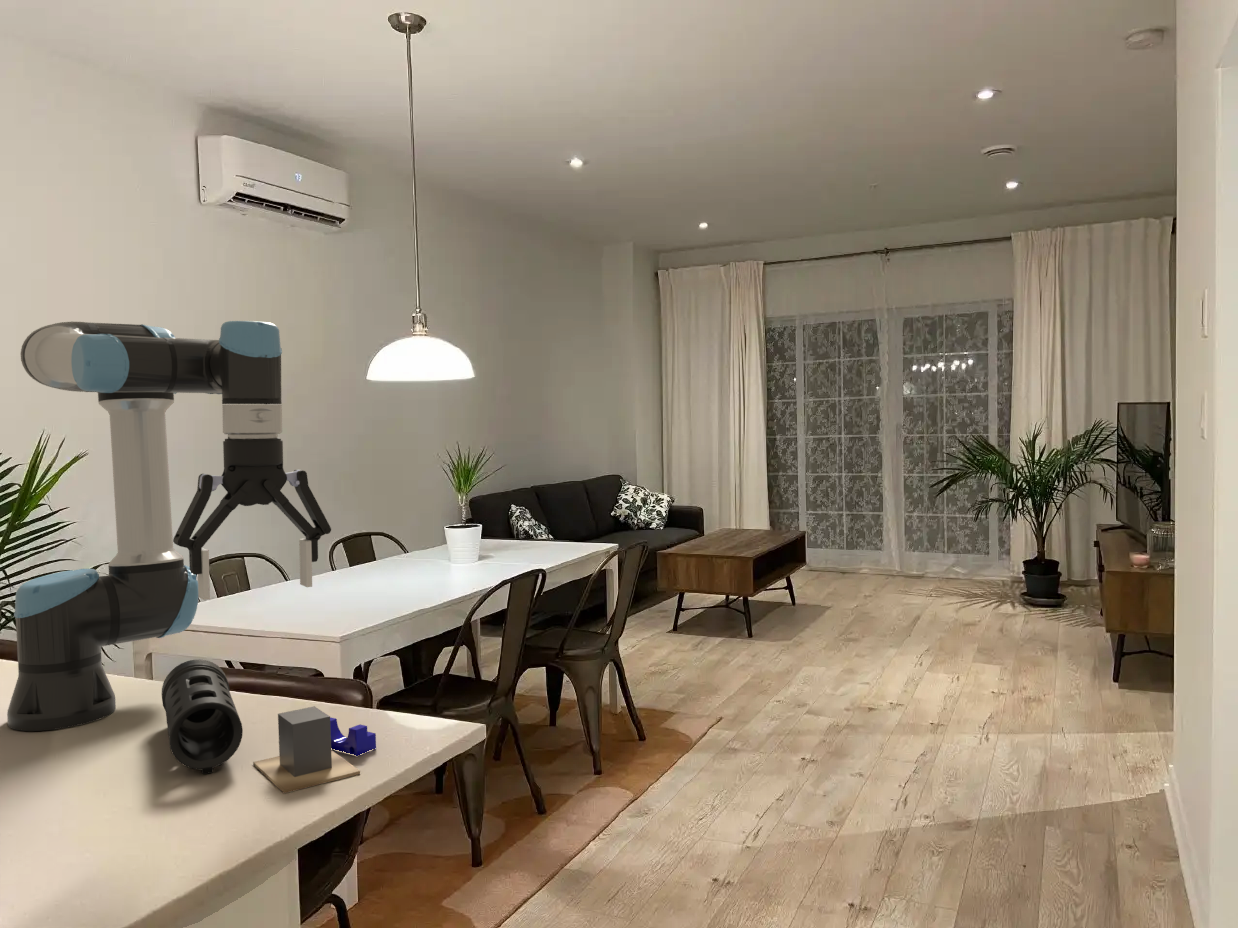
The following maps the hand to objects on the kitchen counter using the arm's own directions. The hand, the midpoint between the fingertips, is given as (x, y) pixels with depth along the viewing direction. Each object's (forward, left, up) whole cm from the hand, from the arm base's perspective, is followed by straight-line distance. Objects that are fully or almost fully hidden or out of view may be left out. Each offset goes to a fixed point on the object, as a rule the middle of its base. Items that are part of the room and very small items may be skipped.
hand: (256, 591), depth 127 cm
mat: (+6, +4, -24) cm, 25 cm away
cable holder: (+2, +11, -24) cm, 27 cm away
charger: (+6, +4, -23) cm, 25 cm away
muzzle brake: (-14, -5, -24) cm, 28 cm away
